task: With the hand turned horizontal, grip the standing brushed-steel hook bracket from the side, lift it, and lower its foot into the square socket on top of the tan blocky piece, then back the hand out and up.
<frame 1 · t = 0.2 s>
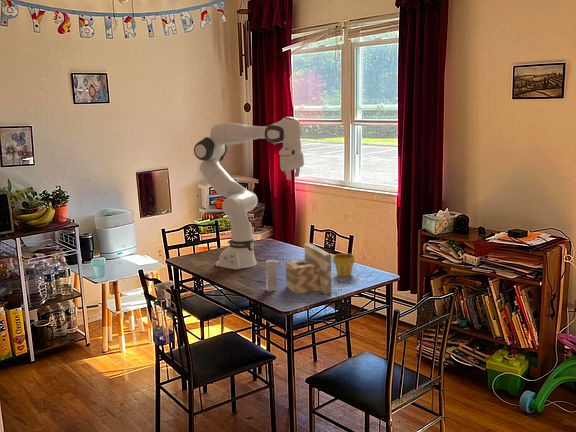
hand: (292, 177, 287), 48 cm above the table, tool pointing down, fingers open, 8 cm apart
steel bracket: (271, 290, 266), on the table
tan blocky piece: (303, 288, 267), on the table
plant pot: (344, 275, 286), on the table
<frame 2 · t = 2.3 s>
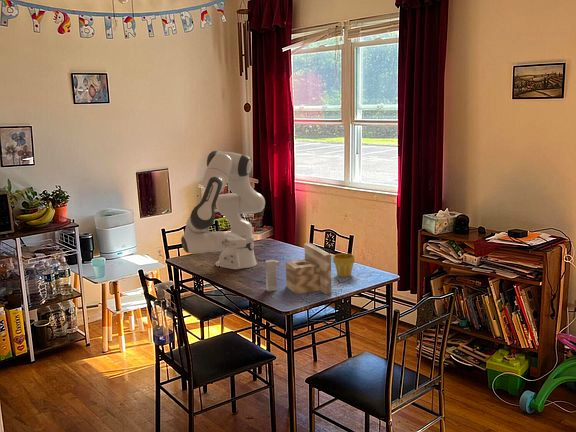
hand: (248, 238, 258), 26 cm above the table, tool horizontal, fingers open, 8 cm apart
nothing on the table moved.
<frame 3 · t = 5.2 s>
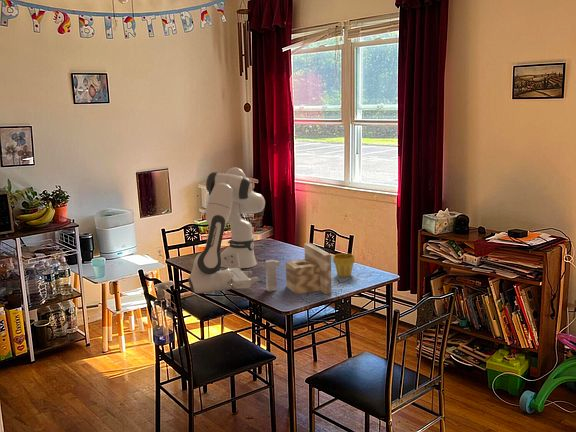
hand: (255, 275, 262), 8 cm above the table, tool horizontal, fingers open, 8 cm apart
nothing on the table moved.
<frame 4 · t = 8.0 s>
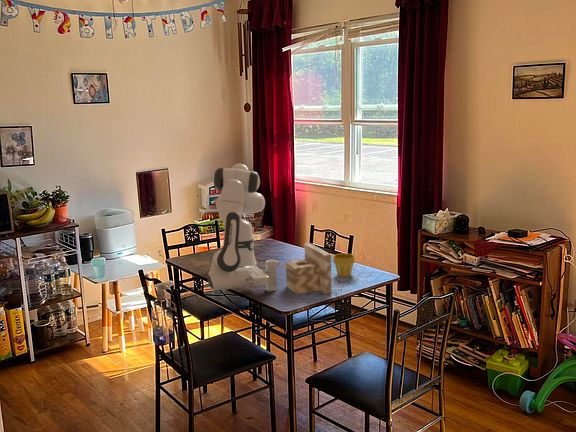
hand: (272, 273, 265), 8 cm above the table, tool horizontal, fingers closed on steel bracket, 3 cm apart
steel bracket: (271, 290, 266), on the table, touching gripper
everything else where it was.
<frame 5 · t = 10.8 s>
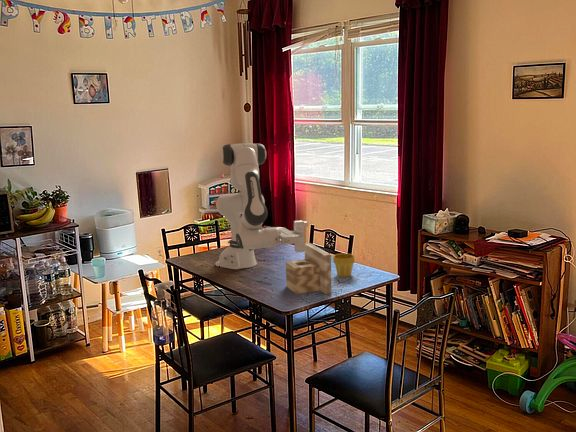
hand: (301, 234, 262), 26 cm above the table, tool horizontal, fingers closed on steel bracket, 3 cm apart
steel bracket: (299, 251, 263), point 18 cm above the table, touching gripper
everything else where it was.
when the fingers open (17 cm above the table, at t = 13.7 s): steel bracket stays where it is, resting on tan blocky piece.
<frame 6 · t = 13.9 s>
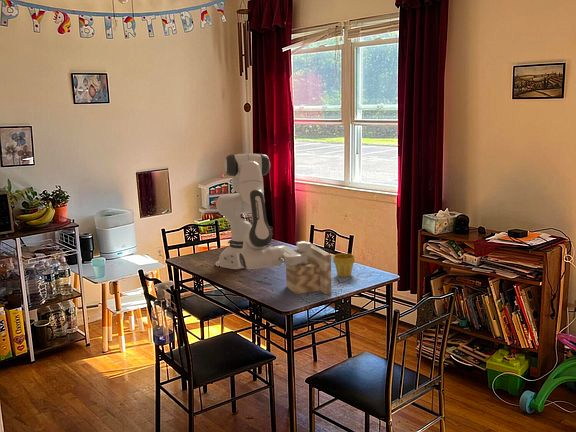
hand: (303, 252, 264), 17 cm above the table, tool horizontal, fingers open, 5 cm apart
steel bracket: (302, 271, 266), point 8 cm above the table, touching tan blocky piece
everything else where it was.
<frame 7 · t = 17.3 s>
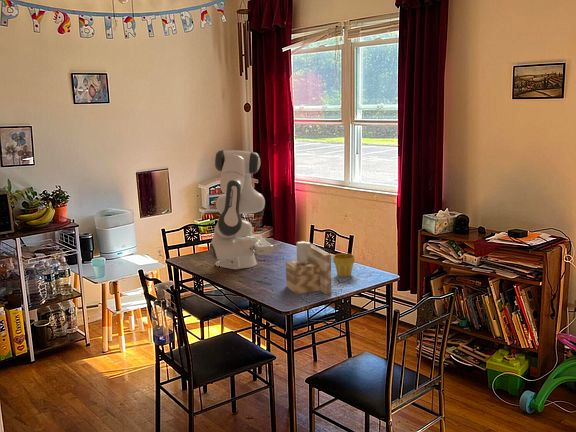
hand: (276, 243, 259), 23 cm above the table, tool horizontal, fingers open, 8 cm apart
nothing on the table moved.
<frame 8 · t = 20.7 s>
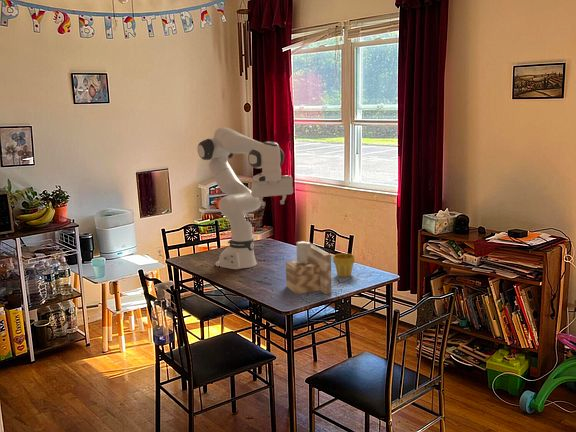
hand: (272, 205, 274), 37 cm above the table, tool pointing down, fingers open, 8 cm apart
nothing on the table moved.
at the end: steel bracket 0.1 cm off-centre on the tan blocky piece, point 8.0 cm above the tan blocky piece's base; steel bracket tilted 0°; the gripper is holding nothing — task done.
